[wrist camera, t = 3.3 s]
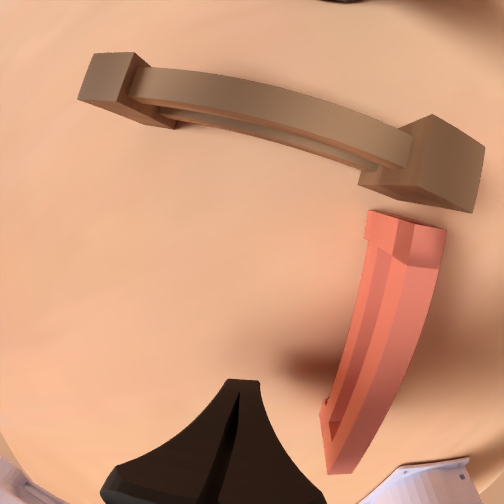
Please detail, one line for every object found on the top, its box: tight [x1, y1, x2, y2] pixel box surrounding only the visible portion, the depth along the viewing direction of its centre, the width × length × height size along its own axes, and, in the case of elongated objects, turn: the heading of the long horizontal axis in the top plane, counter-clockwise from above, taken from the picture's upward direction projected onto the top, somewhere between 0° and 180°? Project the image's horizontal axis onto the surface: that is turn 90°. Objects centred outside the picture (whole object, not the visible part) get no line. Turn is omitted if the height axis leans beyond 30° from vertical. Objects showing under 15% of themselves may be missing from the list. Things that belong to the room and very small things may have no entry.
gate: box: [319, 210, 447, 475], centre depth 10 cm, size 11×1×4 cm, turn 174°
